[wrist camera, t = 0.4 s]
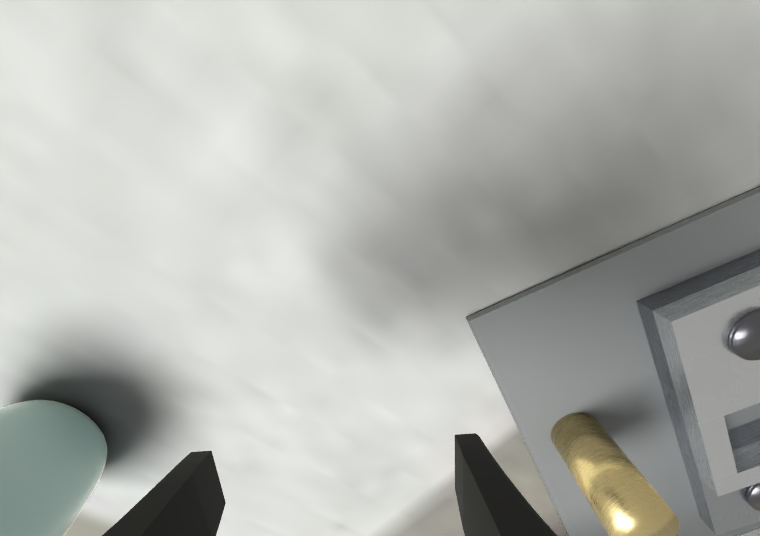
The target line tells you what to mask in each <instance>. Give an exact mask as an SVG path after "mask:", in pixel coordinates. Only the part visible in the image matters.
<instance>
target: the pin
mask: <svg viewBox="0 0 760 536" xmlns="http://www.w3.org/2000/svg"><path fill="white" fill-rule="evenodd" d="M551 441H552V443H553V444H554V446H555V448H556V449H557V451H558V453H559V454H560V456H561V458H562V459H563V461H564V463H565V464H566V466H567V468H568V469H569V471H570V473H571V474H572V476H573V477H574V479H575V481H576V482H577V484H578V486H579V487H580V489H581V491H582V492H583V494H584V496H585V497H586V499H587V501H588V502H589V504H590V505H591V507H592V509H593V510H594V512H595V514H596V515H597V517H598V519H599V520H600V522H601V524H602V525H603V527H604V529H605V530H606V532H607V533H608V535H609V536H677V534H678V531H679V527H680V523H679V520H678V518H677V516H676V515H675V514H674V513H673V511H672V510H671V509H670V508H669V506H668V505H667V504H666V503H665V502H664V500H663V499H662V498H661V497H660V496H659V494H658V493H657V492H656V491H655V489H654V488H653V487H652V486H651V485H650V483H649V482H648V481H647V480H646V479H645V477H644V476H643V475H642V474H641V472H640V471H639V470H638V469H637V468H636V466H635V465H634V464H633V463H632V462H631V460H630V459H629V458H628V457H627V455H626V454H625V453H624V452H623V451H622V449H621V448H620V447H619V446H618V445H617V443H616V442H615V441H614V440H613V438H612V437H611V436H610V435H609V434H608V432H607V431H606V430H605V429H604V428H603V426H602V425H601V424H600V423H599V421H598V420H597V419H596V418H595V417H594V416H592V415H590V414H588V413H582V412H577V413H572V414H568V415H566V416H564V417H562V418H561V419H560V420H558V421H557V422H556V423H555V425H554V426H553V428H552V431H551Z"/></svg>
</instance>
